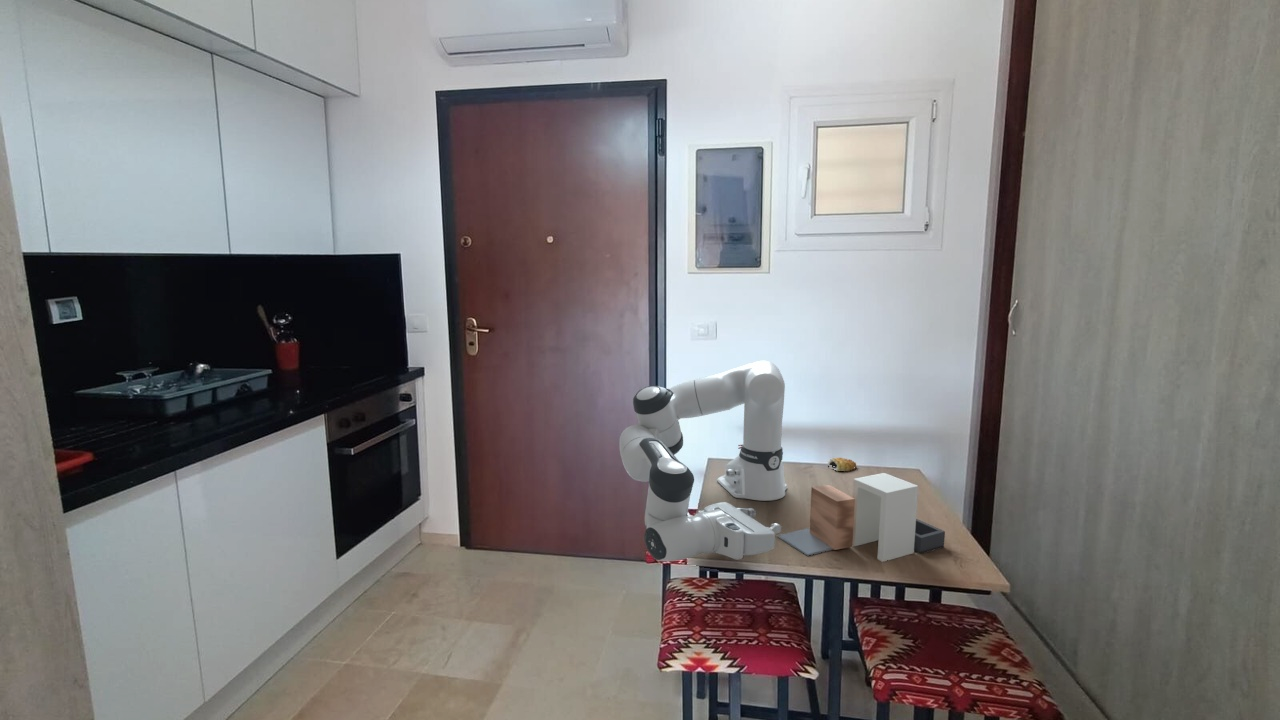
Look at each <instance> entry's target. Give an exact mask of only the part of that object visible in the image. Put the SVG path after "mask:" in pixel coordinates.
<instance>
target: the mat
mask: <svg viewBox="0 0 1280 720" xmlns="http://www.w3.org/2000/svg"><path fill="white" fill-rule="evenodd" d="M777 538H778V539H780V540H781V541H783V542H785V543H786V544H788V545H789V546H791V547H792V548H794V549H796V550H797V551H799V552H800V553H802V554H803V553H804V555H806V557H810V556H809V555H811V556H814V555H817V554H822V553H825V551H826V552H829V551H832V550H834V549H833V548H831V547H830V546H828V545H827V544H826V543H824V542H823V541H821V540H820V539H818V538H817V537H815V536H814V535H813V534H811V533H810V527H808V528H803V529H798V530H795V531H791V532H787V533H781V534H779V535H777ZM821 552H822V553H821ZM813 554H814V555H813Z"/></svg>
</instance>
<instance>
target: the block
mask: <svg viewBox="0 0 1280 720" xmlns="http://www.w3.org/2000/svg"><path fill="white" fill-rule="evenodd" d="M810 489H811V491H810V492H811V493H810V511H809V512H810V514H809V515H810V516H809V528H810V533H811V534H813V535H814V536H815V537H817V538H818V539H820V540H821V541H823V542H824V543H826V544H827V545H828V546H830V547H831V548H833V550H834V551H835V550H841V549H848V548H852V547H853V545H852V544H853V525H854V507H855V499H854V498H853V496H852V495H849V494H847V493H845V492H843V491H842V490H840V489H837V488H835V487H834V486H832V485H830V484H823V485H822V484H821V485H816V486H811V488H810Z"/></svg>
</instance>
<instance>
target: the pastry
mask: <svg viewBox="0 0 1280 720" xmlns="http://www.w3.org/2000/svg"><path fill="white" fill-rule="evenodd" d="M827 465H832V467H831V468H835V469H834V470H833V471H835V470H836V471H835V472H838V471H844V472H850V470H851V469H854V470H855V469H856V468H857V463H856V462H854V461H853V460H852V459H848V458H843V457H836V458H831V459H830V460H829V461H827ZM833 466H835V467H833ZM854 467H856V468H854ZM851 471H852V470H851Z"/></svg>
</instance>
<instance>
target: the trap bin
mask: <svg viewBox="0 0 1280 720" xmlns="http://www.w3.org/2000/svg"><path fill="white" fill-rule="evenodd" d="M945 537H946V531H945V530H942V529H940V528H939V527H936V526H933V525H931V524H929V523H926V522H924V521H922V520H920V519H918V518H916V527H915V542H914V553H915V552H916V553H918V555H919V554H920V555H921V554H925V553H929V552H932V551H936V550H939V549H942V548H944V547H945Z"/></svg>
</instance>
